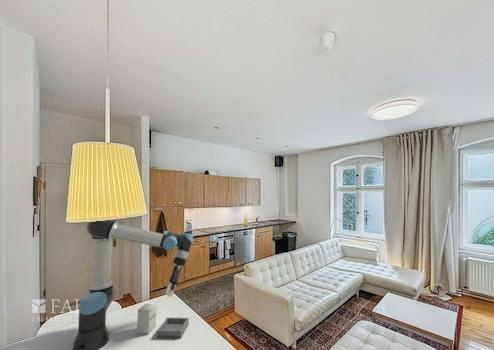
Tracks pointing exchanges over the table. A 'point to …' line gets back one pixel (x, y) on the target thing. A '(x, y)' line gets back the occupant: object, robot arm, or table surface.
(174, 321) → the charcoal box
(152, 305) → the supplement box
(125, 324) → the table surface
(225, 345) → the table surface
